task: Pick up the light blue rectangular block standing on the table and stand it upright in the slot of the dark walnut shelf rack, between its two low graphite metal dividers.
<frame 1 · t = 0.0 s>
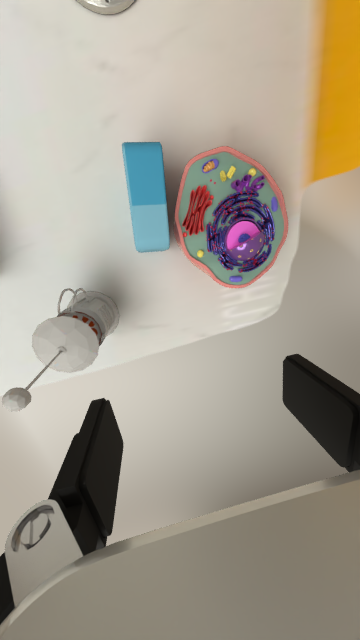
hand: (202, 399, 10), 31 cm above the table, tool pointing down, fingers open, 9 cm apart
french press: (93, 311, 39), on the table
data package: (148, 216, 36), on the table
cell model: (215, 230, 38), on the table
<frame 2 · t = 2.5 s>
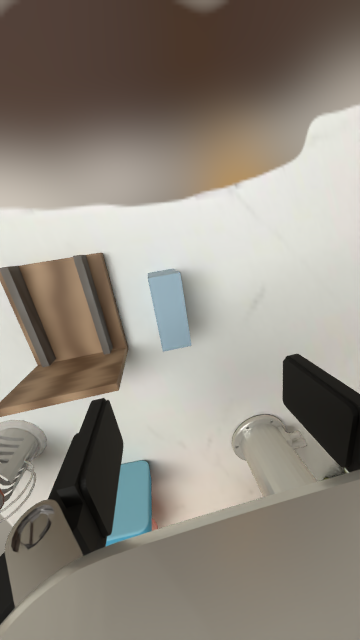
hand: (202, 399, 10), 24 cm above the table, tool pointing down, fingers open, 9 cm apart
french press: (23, 439, 37), on the table
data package: (122, 470, 43), on the table
light blue rectangular block: (166, 301, 33), on the table
shelf rack: (71, 312, 32), on the table
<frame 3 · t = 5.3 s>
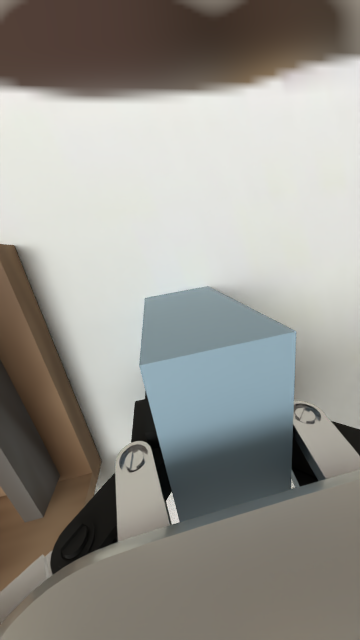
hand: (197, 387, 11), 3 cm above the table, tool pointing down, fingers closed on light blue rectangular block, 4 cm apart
light blue rectangular block: (188, 361, 14), on the table, touching gripper
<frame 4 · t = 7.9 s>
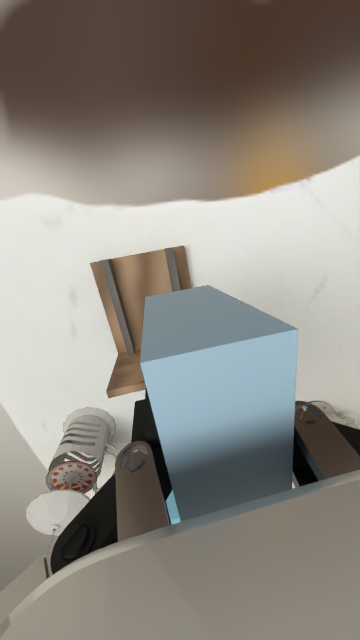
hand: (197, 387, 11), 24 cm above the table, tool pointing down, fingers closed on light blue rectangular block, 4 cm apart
french press: (95, 426, 39), on the table
light blue rectangular block: (188, 360, 14), point 21 cm above the table, touching gripper
shelf rack: (150, 303, 33), on the table
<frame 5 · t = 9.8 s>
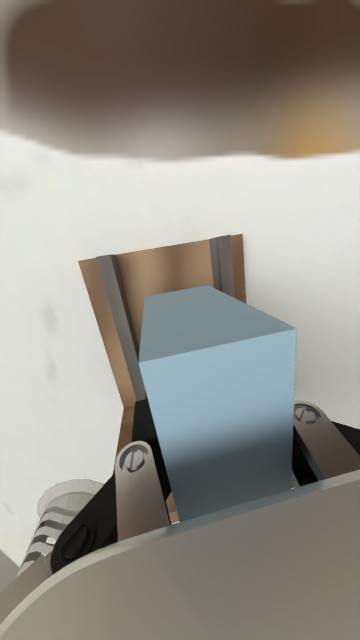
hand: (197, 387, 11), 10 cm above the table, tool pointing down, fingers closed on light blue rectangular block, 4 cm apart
french press: (85, 503, 27), on the table
light blue rectangular block: (188, 360, 14), point 7 cm above the table, touching gripper
shelf rack: (176, 328, 21), on the table
when the fingers open (6 cm above the table, at t = 10.9 s): light blue rectangular block drops 1 cm, resting on shelf rack.
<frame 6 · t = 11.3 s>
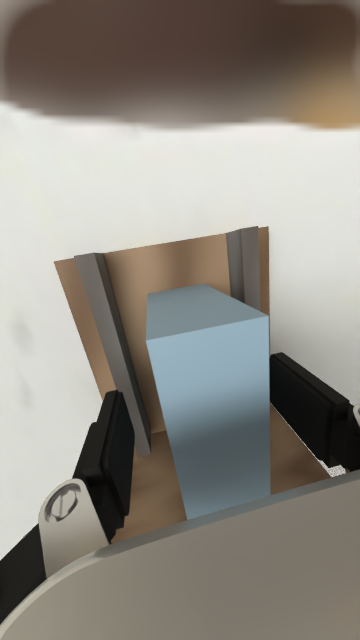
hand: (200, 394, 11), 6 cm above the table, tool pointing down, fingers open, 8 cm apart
light blue rectangular block: (186, 352, 15), point 1 cm above the table, touching shelf rack
shelf rack: (181, 344, 17), on the table
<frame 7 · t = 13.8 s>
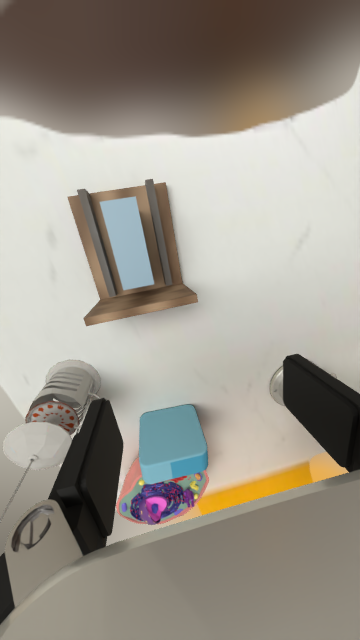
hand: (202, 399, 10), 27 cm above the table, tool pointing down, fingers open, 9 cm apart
french press: (79, 381, 39), on the table
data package: (167, 415, 45), on the table
cell model: (161, 456, 49), on the table
light blue rectangular block: (132, 247, 31), point 1 cm above the table, touching shelf rack
shelf rack: (132, 248, 33), on the table
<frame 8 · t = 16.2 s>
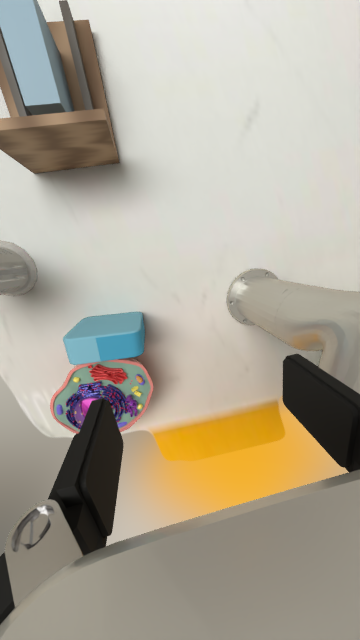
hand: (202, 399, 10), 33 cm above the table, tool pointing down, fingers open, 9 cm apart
french press: (13, 269, 37), on the table
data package: (115, 323, 43), on the table
cell model: (111, 375, 46), on the table
light blue rectangular block: (57, 99, 29), point 1 cm above the table, touching shelf rack
shelf rack: (60, 106, 31), on the table
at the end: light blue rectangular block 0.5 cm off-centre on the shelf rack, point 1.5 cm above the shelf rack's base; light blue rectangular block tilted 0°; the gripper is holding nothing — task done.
